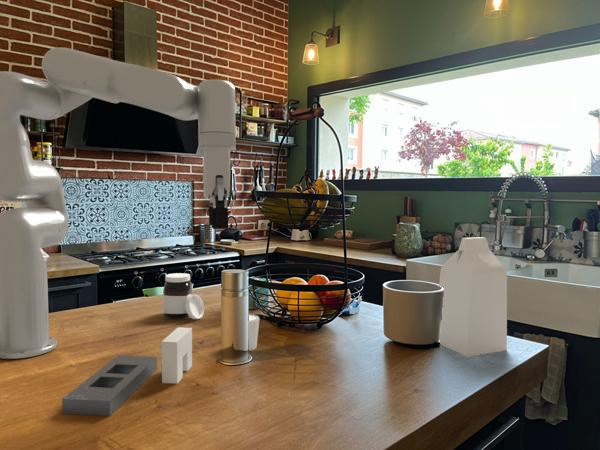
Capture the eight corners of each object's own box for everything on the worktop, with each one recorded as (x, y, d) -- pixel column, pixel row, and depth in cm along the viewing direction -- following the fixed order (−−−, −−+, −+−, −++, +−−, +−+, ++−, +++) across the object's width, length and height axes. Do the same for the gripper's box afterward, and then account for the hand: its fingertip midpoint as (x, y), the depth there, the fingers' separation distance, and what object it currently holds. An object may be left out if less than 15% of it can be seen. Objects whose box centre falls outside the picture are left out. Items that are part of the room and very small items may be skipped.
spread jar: (167, 311, 140) (166, 272, 139) (206, 310, 141) (206, 271, 140) (159, 322, 128) (159, 280, 127) (202, 322, 130) (202, 280, 129)
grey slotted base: (62, 413, 77) (62, 398, 77) (119, 366, 97) (118, 354, 97) (109, 416, 77) (109, 401, 76) (157, 368, 97) (156, 356, 96)
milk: (471, 335, 122) (475, 234, 119) (506, 350, 111) (512, 239, 109) (433, 341, 117) (437, 236, 115) (466, 356, 106) (472, 241, 104)
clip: (161, 382, 90) (161, 341, 89) (178, 364, 99) (177, 327, 98) (177, 383, 90) (177, 342, 89) (192, 365, 99) (192, 327, 98)
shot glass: (254, 353, 106) (254, 322, 106) (225, 350, 108) (225, 320, 107) (262, 343, 113) (263, 314, 112) (235, 341, 114) (235, 312, 114)
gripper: (197, 146, 105) (198, 223, 106) (199, 138, 88) (201, 230, 89) (231, 146, 106) (232, 223, 108) (240, 139, 90) (241, 229, 91)
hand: (218, 226), depth 99 cm, fingers open, 9 cm apart
